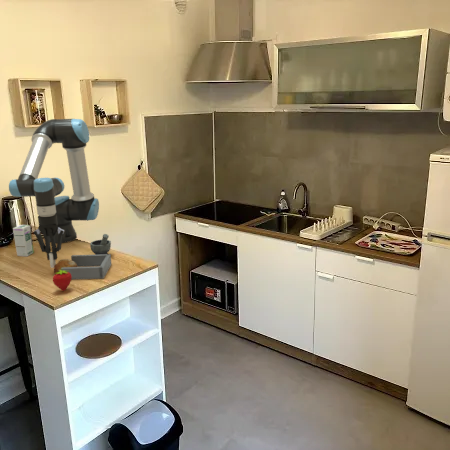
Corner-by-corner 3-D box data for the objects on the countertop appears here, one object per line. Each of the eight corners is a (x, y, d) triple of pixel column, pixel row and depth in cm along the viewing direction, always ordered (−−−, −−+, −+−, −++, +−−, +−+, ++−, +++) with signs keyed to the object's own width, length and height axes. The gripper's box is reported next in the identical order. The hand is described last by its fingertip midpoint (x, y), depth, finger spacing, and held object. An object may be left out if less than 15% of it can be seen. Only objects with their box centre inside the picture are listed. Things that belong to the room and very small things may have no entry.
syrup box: (27, 256, 223) (23, 228, 219) (16, 256, 224) (12, 227, 220) (34, 252, 228) (30, 224, 224) (23, 252, 229) (19, 224, 225)
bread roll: (80, 278, 205) (83, 260, 206) (69, 277, 195) (71, 258, 196) (60, 277, 207) (63, 259, 208) (48, 275, 197) (50, 257, 198)
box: (73, 265, 211) (71, 255, 209) (111, 264, 211) (110, 254, 210) (62, 279, 194) (60, 268, 193) (103, 278, 195) (102, 267, 194)
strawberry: (51, 291, 183) (48, 268, 180) (68, 285, 188) (66, 263, 185) (58, 295, 179) (55, 271, 176) (76, 289, 184) (73, 266, 181)
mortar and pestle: (87, 256, 222) (85, 232, 219) (104, 251, 229) (102, 228, 226) (100, 261, 215) (98, 237, 212) (117, 256, 222) (115, 232, 218)
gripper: (28, 217, 191) (35, 270, 197) (59, 216, 191) (65, 269, 198) (34, 212, 198) (41, 263, 205) (65, 212, 199) (70, 263, 205)
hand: (53, 266), depth 201 cm, fingers closed
